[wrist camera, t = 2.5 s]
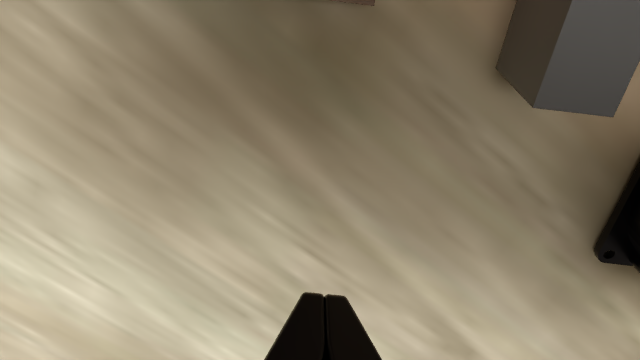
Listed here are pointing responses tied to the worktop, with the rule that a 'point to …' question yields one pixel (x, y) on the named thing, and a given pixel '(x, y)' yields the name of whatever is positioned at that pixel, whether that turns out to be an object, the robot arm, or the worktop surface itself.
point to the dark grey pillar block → (572, 53)
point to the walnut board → (358, 1)
